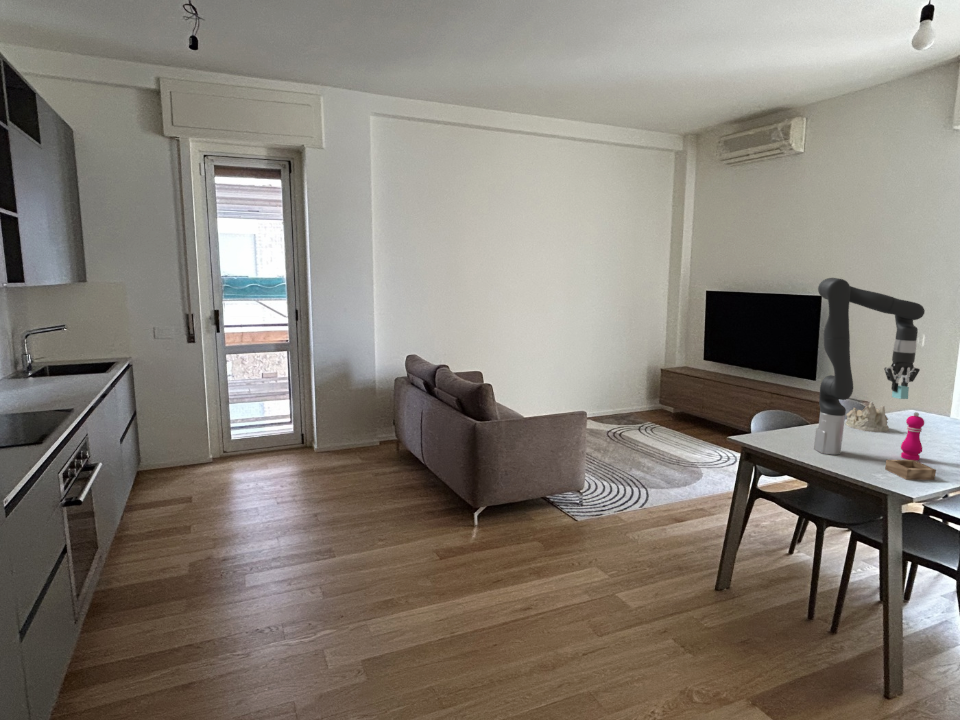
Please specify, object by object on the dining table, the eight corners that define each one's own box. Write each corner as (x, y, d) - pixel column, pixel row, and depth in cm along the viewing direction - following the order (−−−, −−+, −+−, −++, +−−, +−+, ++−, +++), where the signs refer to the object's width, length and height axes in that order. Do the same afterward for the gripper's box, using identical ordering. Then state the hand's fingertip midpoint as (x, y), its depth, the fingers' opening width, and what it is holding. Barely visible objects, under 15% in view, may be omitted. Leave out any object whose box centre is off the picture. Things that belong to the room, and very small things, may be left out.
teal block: (908, 398, 235) (908, 386, 234) (900, 398, 235) (901, 386, 234) (899, 397, 240) (899, 385, 239) (892, 397, 240) (892, 385, 239)
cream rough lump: (894, 432, 278) (896, 401, 276) (861, 433, 278) (862, 402, 276) (872, 425, 293) (873, 396, 292) (840, 426, 293) (841, 397, 292)
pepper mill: (895, 455, 243) (901, 410, 240) (911, 455, 243) (917, 410, 240) (908, 461, 236) (915, 414, 232) (925, 461, 236) (932, 414, 233)
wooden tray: (906, 479, 215) (907, 469, 214) (885, 469, 226) (886, 459, 225) (934, 479, 215) (936, 469, 215) (912, 469, 226) (913, 459, 225)
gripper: (894, 352, 231) (888, 393, 234) (928, 352, 231) (922, 393, 234) (881, 349, 239) (876, 389, 241) (914, 349, 239) (908, 389, 241)
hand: (899, 391), depth 238 cm, fingers closed on teal block, 3 cm apart
